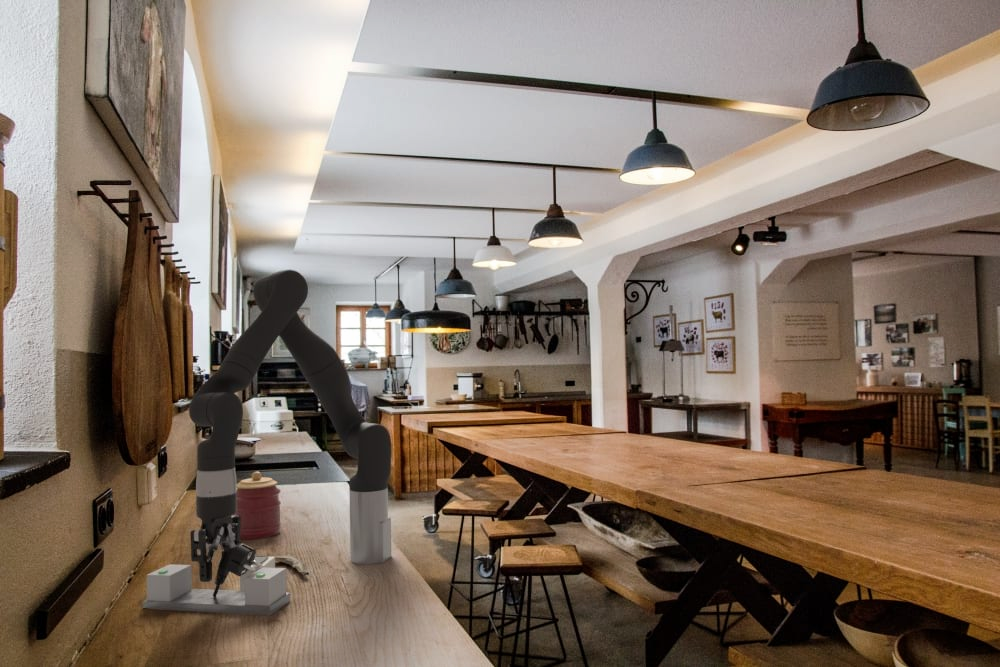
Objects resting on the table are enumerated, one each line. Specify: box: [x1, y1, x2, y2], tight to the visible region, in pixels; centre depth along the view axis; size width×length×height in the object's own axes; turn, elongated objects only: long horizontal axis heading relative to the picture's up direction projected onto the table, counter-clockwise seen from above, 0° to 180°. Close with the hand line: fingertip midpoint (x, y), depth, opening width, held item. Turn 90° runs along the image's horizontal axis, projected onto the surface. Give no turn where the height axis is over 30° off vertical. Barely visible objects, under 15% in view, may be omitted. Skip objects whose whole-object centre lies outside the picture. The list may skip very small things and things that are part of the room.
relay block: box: [239, 556, 276, 591], centre depth 149 cm, size 5×7×6 cm
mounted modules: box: [146, 563, 287, 606], centre depth 138 cm, size 26×7×5 cm, turn 80°
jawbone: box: [255, 554, 310, 577], centre depth 163 cm, size 9×20×2 cm, turn 55°
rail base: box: [142, 588, 291, 617], centre depth 138 cm, size 27×8×2 cm, turn 80°
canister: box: [233, 471, 282, 540], centre depth 197 cm, size 13×13×18 cm
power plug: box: [213, 542, 262, 597], centre depth 138 cm, size 6×8×12 cm
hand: (217, 575), depth 138 cm, fingers open, 7 cm apart
